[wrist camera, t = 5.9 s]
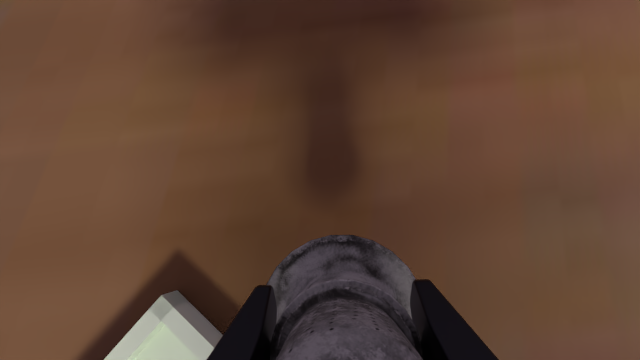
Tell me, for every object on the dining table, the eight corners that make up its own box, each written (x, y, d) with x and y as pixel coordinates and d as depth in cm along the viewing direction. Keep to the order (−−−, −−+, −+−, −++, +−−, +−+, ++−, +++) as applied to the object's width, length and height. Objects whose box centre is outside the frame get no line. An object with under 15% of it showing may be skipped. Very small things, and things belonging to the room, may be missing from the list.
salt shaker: (286, 228, 16) (146, 188, 4) (412, 245, 16) (651, 252, 4) (266, 362, 15) (9, 808, 3) (401, 384, 15) (678, 982, 3)
